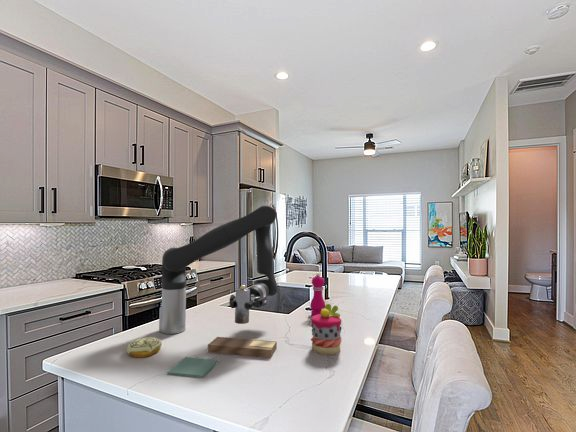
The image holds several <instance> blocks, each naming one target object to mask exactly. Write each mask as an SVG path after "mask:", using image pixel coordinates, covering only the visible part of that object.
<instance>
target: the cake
mask: <svg viewBox="0 0 576 432" xmlns="http://www.w3.org/2000/svg"><path fill="white" fill-rule="evenodd" d="M338 310H339V307H338V305H333V306H332V305H331V304H330V303H327V304H326V303H325V309H324V308H322V309H321V314H318V315H315V316H311V327H312V328H311V335H312V337H311V338H310V341H311V350H312V351H313V352H314V353H315V354H318V355H319V354H320V355H323V356H325V355H326V356H330V355H331V356H332V355H336V354H339V353H340V352H341V344H342V337H341V333H342V326H341V325H342V319H341V314H340V313H338V312H337V311H338Z"/></svg>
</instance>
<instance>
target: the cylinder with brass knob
mask: <svg viewBox="0 0 576 432" xmlns="http://www.w3.org/2000/svg"><path fill="white" fill-rule="evenodd" d="M247 288H248V287H247V286H246V285H245V284H242V285H240V286H239V288H236V289H235V297H236V300H235V308H234V324H238V325H243V324H244V325H245V324H249V322H250V309H249V310H247V309H246V305H247V303H248V302H249V301H250V289H247Z"/></svg>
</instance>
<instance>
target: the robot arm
mask: <svg viewBox="0 0 576 432" xmlns="http://www.w3.org/2000/svg"><path fill="white" fill-rule="evenodd" d="M276 218H277V211H276V209H275V208H274V207H273V206H270V205H268V204H267V205H261V206H259V207H257V208H256V209H254V210H253V211H251V212H250V213H248V214H246V215H244V216H242V217H240V218H237V219H234V220H231V221H229V222H226V223H224V224H221V225H219V226H217V227H214V228H212V229H211V230H209V231H207V232H205V233H204V234H203V235H202V236H200V237H198V238H197V239H195V240H194V241H192V242H190V243H187V244H184V245H182V246H179V247H170V248H168V249H167V250H166V251H165V252H164V253H163V254H162V258H161V306H160V307H159V317H158V319H159V321H158V323H159V325H158V332H159V333H163V334H167V335H170V334H171V335H173V334H178V333H183V332H184V331H185V330H186V317H187V316H186V315H187V314H186V313H187V312H186V311H187V307H186V306H187V276H186V274H187V273H186V271H187V269H186V268H187V267H188V266H190V265H191V264H193V263H195V262H197V261H198V260H199V259H201V258H204V257H206V256H209V255H211V254H213V253H216V252H219V251H220V250H223V249H224V248H225V249H226V248H227V247H229V246H230V245H233V244H235V243H236V242H238V241H239V240H241V239H243V238H244V237H246V236H247V235H248V234H250V233H252V232H254V231H255V238H256V271H257V273H258V275H259V274H260V275H264V276H266V277H267V279H257V280H255V281H254V282H253V285H251V286H249V287H246V288H247V289H250V301H249V302H248V303H247V305H246V309H247V310H249V311H250V309H253V308H261V307H263V306H266V305H267V300H268V299H267V297H273V296H275V295H276V294H277V293H278V289H279V288H278V283H277V280H276V276H275V272H274V258H273V250H272V245H271V240H270V229H271V225H272V224H274V222H275V220H276ZM235 300H236V295H234V294H231V295H230V297H229V306H230V308H231V309H235Z"/></svg>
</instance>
